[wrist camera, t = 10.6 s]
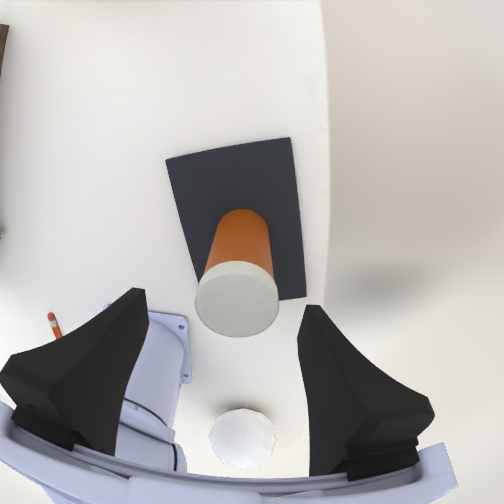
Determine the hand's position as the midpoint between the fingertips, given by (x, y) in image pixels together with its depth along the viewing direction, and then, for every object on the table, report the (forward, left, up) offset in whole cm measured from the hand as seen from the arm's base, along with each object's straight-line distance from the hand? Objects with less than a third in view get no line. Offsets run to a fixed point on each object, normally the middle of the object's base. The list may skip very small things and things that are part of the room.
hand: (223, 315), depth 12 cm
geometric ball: (-24, -3, -9) cm, 25 cm away
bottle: (0, -1, -8) cm, 8 cm away
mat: (0, -1, -9) cm, 9 cm away
